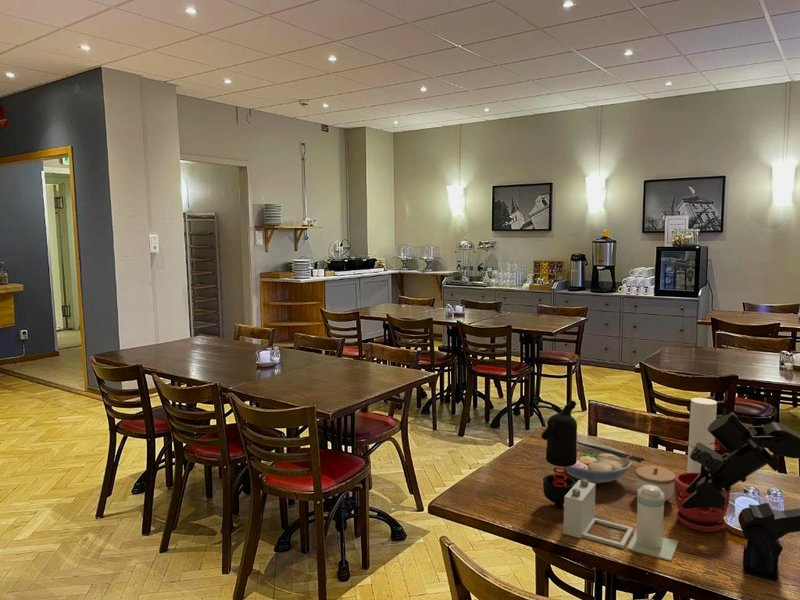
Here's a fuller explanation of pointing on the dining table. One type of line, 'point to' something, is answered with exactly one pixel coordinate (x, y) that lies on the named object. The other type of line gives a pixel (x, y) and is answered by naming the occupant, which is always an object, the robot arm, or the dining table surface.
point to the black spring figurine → (560, 453)
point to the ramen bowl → (600, 463)
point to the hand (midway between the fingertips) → (685, 499)
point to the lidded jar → (656, 479)
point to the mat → (663, 552)
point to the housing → (587, 514)
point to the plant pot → (697, 517)
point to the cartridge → (650, 517)
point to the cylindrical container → (700, 428)
